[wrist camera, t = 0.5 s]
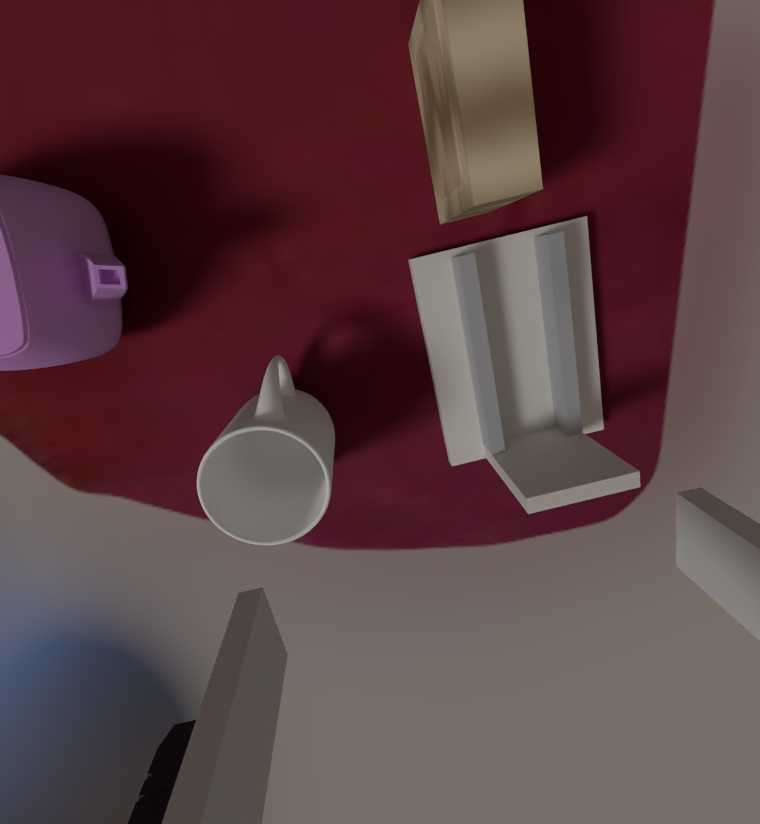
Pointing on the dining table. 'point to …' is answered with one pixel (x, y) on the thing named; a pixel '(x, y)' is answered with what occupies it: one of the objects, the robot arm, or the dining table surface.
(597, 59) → the dining table surface
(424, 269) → the white stand
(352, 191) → the dining table surface
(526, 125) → the door panel
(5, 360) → the teapot
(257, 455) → the mug
